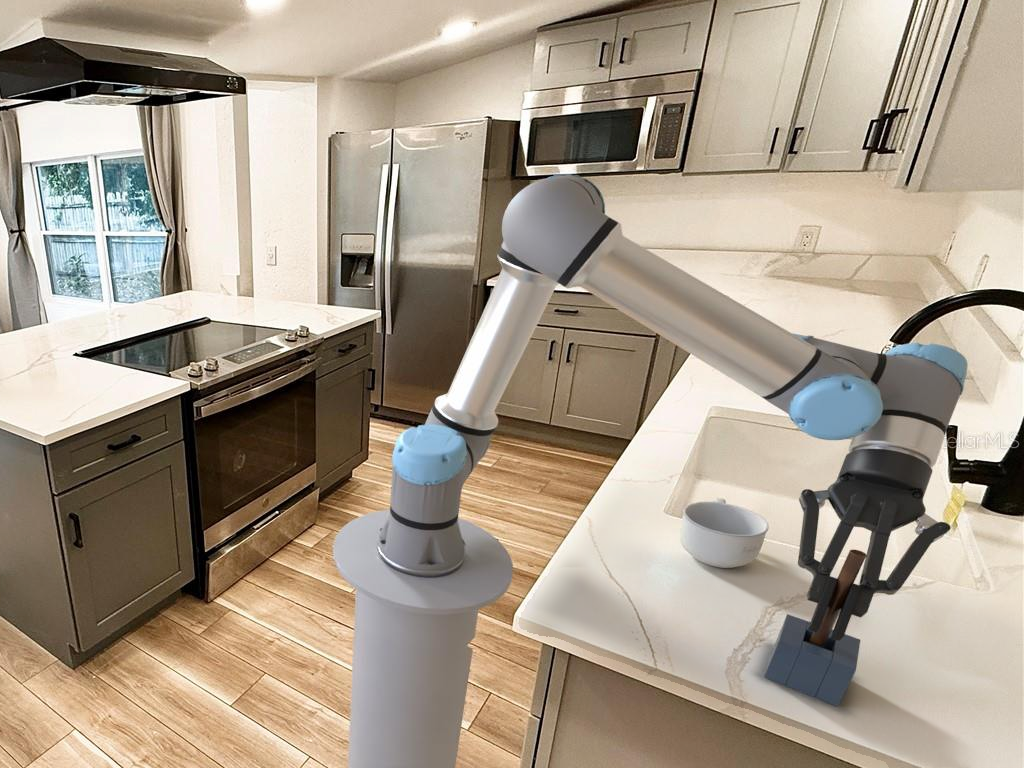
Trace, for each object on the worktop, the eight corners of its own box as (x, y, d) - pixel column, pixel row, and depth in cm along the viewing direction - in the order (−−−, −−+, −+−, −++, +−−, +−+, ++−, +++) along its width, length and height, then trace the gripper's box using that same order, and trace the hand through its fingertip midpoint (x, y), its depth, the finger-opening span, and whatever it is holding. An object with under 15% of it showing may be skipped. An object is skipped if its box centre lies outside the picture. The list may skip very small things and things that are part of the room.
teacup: (750, 585, 95) (766, 542, 92) (667, 560, 102) (679, 519, 99) (758, 545, 105) (773, 505, 101) (681, 524, 111) (693, 486, 108)
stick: (799, 663, 78) (849, 552, 71) (801, 657, 79) (850, 547, 72) (814, 668, 77) (866, 557, 70) (815, 663, 78) (867, 552, 71)
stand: (764, 677, 79) (778, 641, 77) (772, 648, 83) (787, 613, 81) (837, 707, 74) (856, 670, 72) (843, 675, 79) (860, 639, 76)
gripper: (965, 490, 74) (903, 669, 70) (807, 455, 83) (746, 611, 80) (988, 465, 68) (922, 658, 65) (816, 432, 78) (751, 598, 75)
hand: (825, 632), depth 72 cm, fingers closed on stick
